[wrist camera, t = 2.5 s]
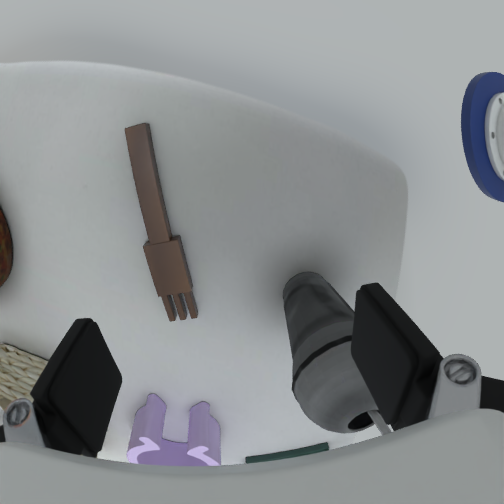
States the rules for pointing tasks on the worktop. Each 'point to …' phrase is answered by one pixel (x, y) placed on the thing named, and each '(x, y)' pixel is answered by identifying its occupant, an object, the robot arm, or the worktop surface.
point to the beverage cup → (326, 358)
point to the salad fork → (159, 228)
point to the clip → (167, 452)
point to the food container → (5, 250)
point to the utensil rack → (289, 453)
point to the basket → (17, 375)
